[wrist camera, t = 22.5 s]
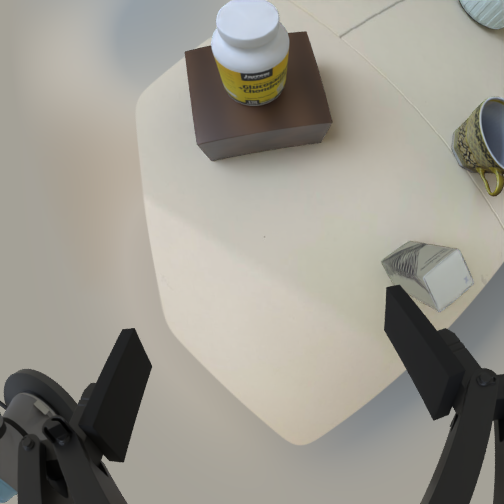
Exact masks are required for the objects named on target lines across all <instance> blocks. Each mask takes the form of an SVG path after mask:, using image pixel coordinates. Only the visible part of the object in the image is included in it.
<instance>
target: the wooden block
mask: <svg viewBox="0 0 504 504" xmlns="http://www.w3.org/2000/svg"><path fill="white" fill-rule="evenodd" d="M288 36H289V54H288V64H287V73H286V82H285V86H284V89H283V90H282V92H281V94H280V95H279V96H278V97H277V98H276V99H274V100H273V101H271V102H269V103H267V104H264V105H259V106H250V105H244V104H241V103H239V102H237V101H235V100H234V99H232V98H231V97H230V96H229V95H228V93H227V92H226V90H225V88H224V85H223V82H222V79H221V76H220V73H219V70H218V67H217V64H216V61H215V58H214V55H213V52H212V47H211V46H206V47H202V48H198V49H193V50H189V51H186V52H185V59H186V67H187V75H188V83H189V91H190V98H191V106H192V113H193V120H194V128H195V135H196V142H197V145H198V146H199V147H200V149H201V150H202V151H203V152H204V153H205V154H206V155H207V156H208V158H209V159H210V160H211V161H213V160H218V159H223V158H228V157H233V156H239V155H244V154H249V153H255V152H261V151H267V150H273V149H279V148H285V147H292V146H299V145H306V144H313V143H321V142H322V140H323V138H324V136H325V135H326V133H327V131H328V129H329V127H330V126H331V124H332V118H331V114H330V110H329V107H328V103H327V99H326V95H325V92H324V88H323V84H322V81H321V77H320V74H319V70H318V67H317V64H316V60H315V57H314V54H313V51H312V47H311V44H310V41H309V38H308V35H307V32H294V33H288Z"/></svg>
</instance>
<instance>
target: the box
mask: <svg viewBox="0 0 504 504" xmlns="http://www.w3.org/2000/svg"><path fill="white" fill-rule="evenodd" d="M381 262H382V264H383V266H384V268H385V270H386V272H387V274H388V276H389V277H390V279H391V281H392V282H393V284H394V286H395V285H399V284H400V285H401V287H402V288H403V289H404V290H405V291H406V293H407V294H409V295H411V296H412V297H414V298H416V299H418V300H419V301H421V302H423V303H425V304H426V305H428V306H430V307H432V308H433V309H435V310H436V311H438V312H441V311H443V310H444V309H445V308H446V307H448V306H449V305H450V304H451V303H453V302H454V301H455V300H456V299H458V298H459V297H460V296H461V295H462V294H463V293H464V292H465V291H466V290H468V289H469V288H470V287H471V286H472V285H473V284H474V281H473V278H472V276H471V273H470V271H469V269H468V267H467V264H466V262H465V260H464V258H463V256H462V254H461V252H460V250H459V249H456V248H450V247H444V246H437V245H431V244H425V243H419V242H412V241H408V242H407V243H406V244H404V245H403V246H401V247H400V248H398V249H397V250H396V251H394V252H393V253H391V254H390V255H389V256H388V257H386V258H385V259H384V260H382V261H381Z"/></svg>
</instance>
